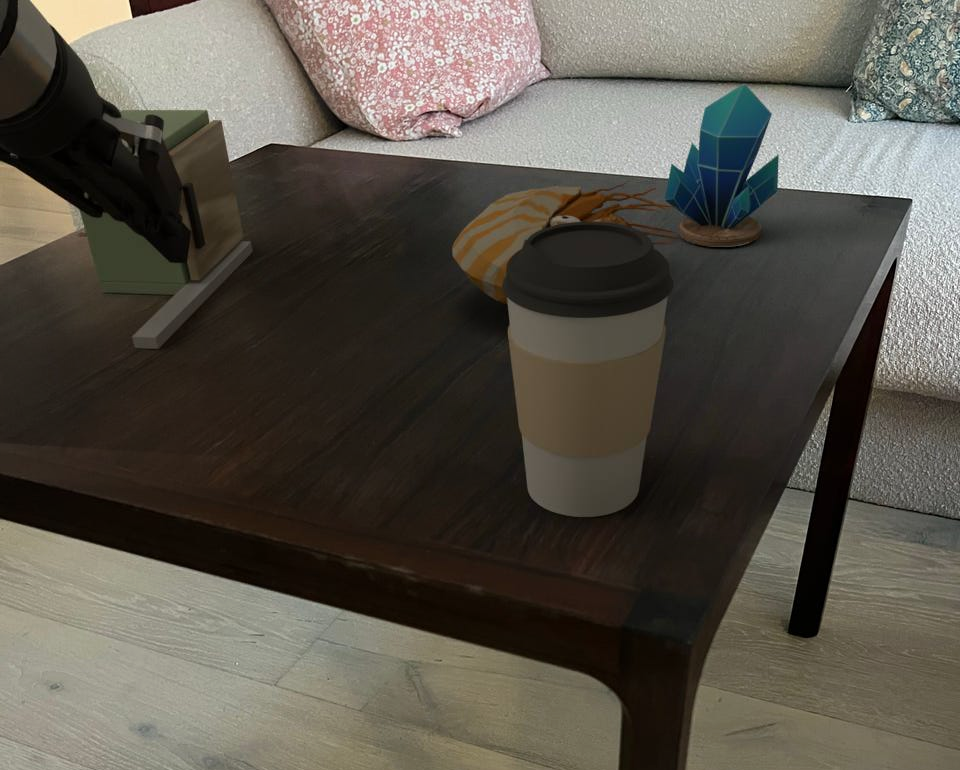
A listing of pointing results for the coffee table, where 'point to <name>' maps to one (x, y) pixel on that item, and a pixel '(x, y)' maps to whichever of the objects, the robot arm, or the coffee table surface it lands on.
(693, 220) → the gemstone
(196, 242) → the sliding door
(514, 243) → the nautilus
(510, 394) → the coffee table surface
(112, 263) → the cabinet
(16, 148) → the robot arm
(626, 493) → the coffee cup
